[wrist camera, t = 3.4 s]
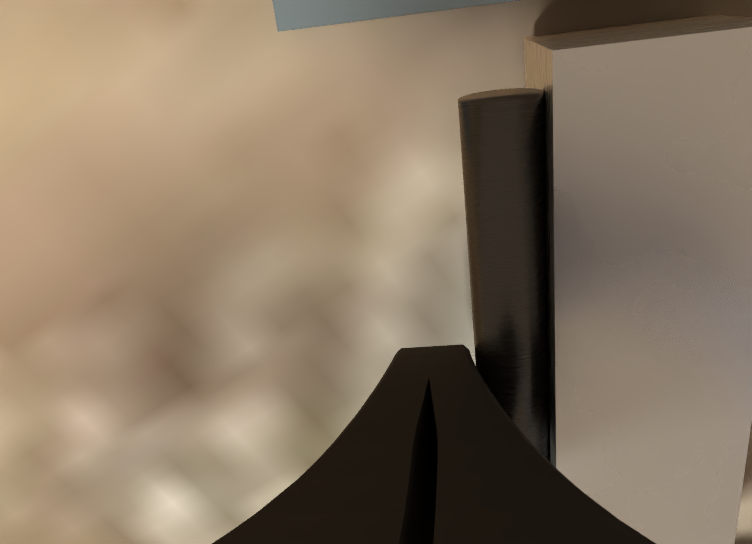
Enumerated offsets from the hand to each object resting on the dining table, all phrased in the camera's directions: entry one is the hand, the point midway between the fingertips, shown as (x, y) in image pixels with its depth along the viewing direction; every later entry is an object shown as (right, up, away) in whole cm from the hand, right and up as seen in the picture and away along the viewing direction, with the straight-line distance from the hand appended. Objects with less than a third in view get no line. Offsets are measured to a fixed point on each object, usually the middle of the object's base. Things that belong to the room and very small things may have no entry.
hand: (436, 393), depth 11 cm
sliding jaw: (+3, +1, +1) cm, 3 cm away
